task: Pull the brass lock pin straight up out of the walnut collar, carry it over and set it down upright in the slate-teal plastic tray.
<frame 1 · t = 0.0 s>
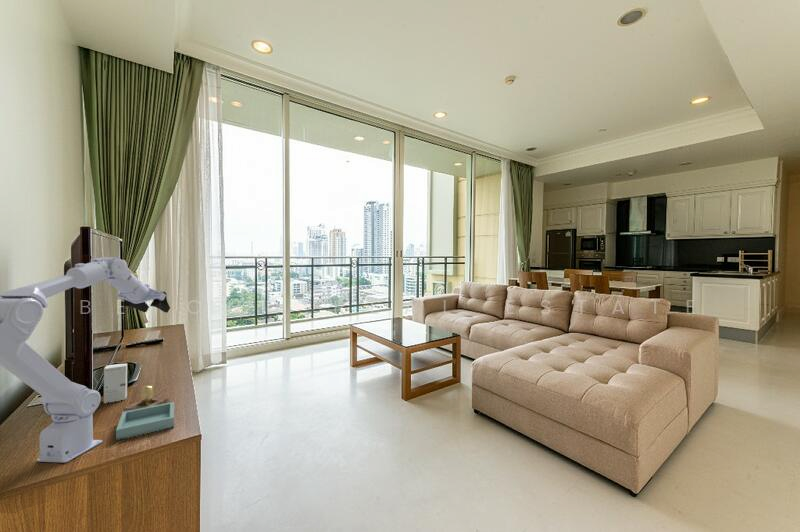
hand: (157, 309, 114), 32 cm above the tv stand, tool tilted 50°, fingers open, 7 cm apart
collar: (147, 407, 112), on the tv stand
tray: (147, 424, 100), on the tv stand
skincare box: (116, 400, 118), on the tv stand
lock pin: (146, 397, 112), in the collar
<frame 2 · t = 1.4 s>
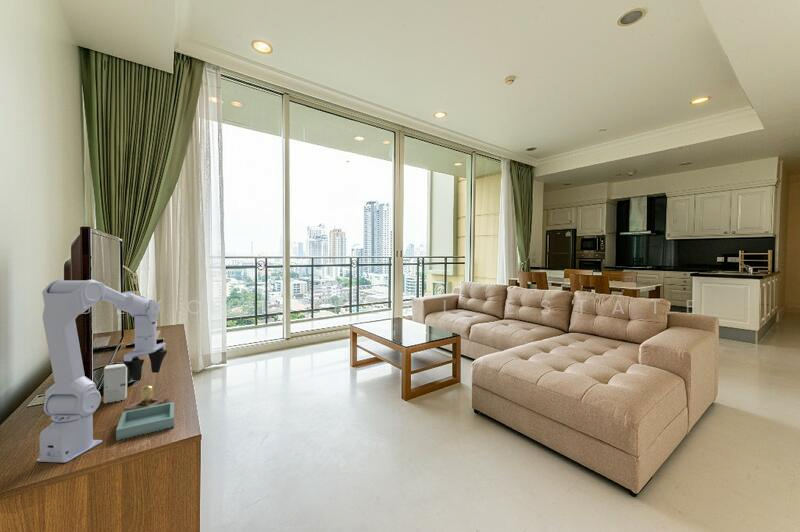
hand: (146, 376, 112), 10 cm above the tv stand, tool pointing down, fingers open, 7 cm apart
nothing on the tv stand moved.
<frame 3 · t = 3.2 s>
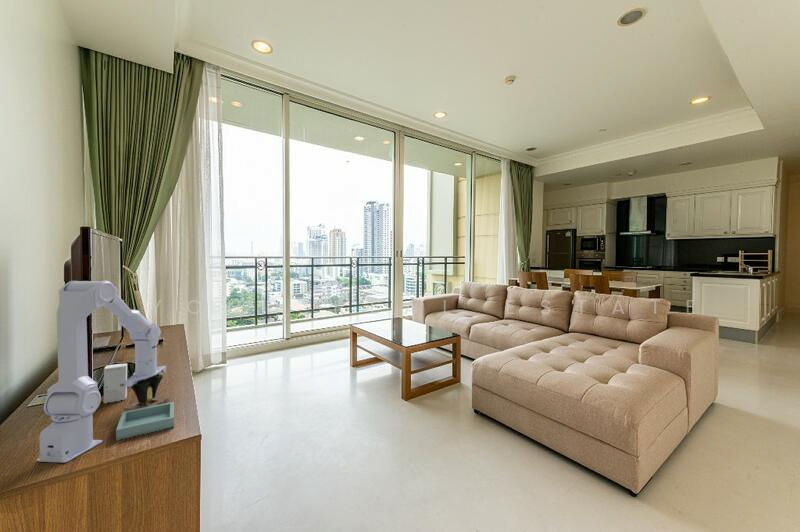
hand: (146, 400, 112), 2 cm above the tv stand, tool pointing down, fingers closed on lock pin, 3 cm apart
lock pin: (146, 396, 112), in the collar, touching gripper
everything else where it was.
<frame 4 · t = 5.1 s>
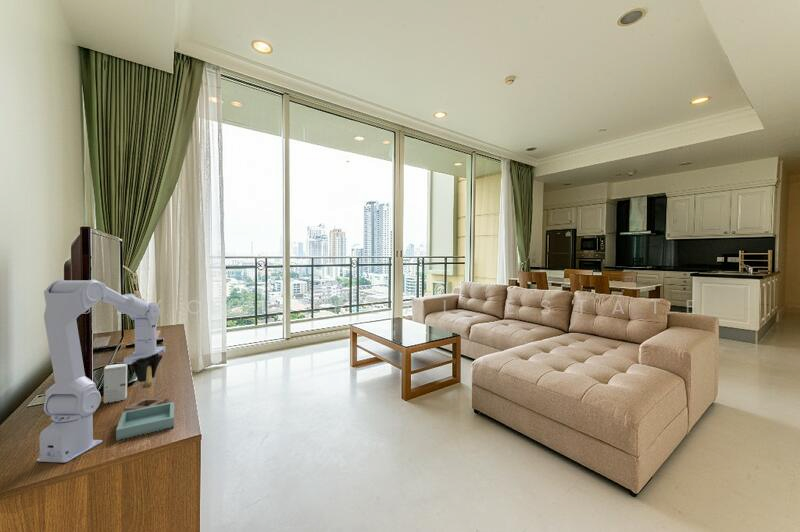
hand: (146, 379, 112), 9 cm above the tv stand, tool pointing down, fingers closed on lock pin, 3 cm apart
lock pin: (146, 376, 112), point 10 cm above the tv stand, touching gripper
everything else where it was.
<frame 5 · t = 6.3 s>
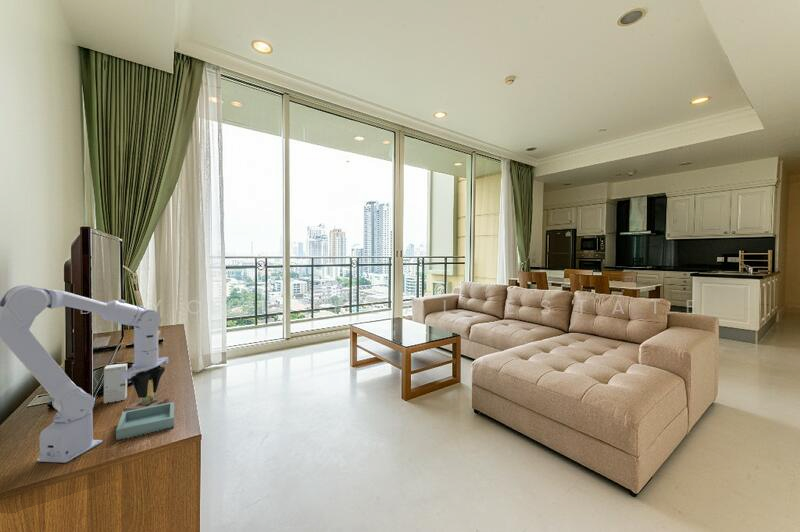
hand: (147, 394, 100), 9 cm above the tv stand, tool pointing down, fingers closed on lock pin, 3 cm apart
lock pin: (147, 391, 100), point 10 cm above the tv stand, touching gripper
everything else where it was.
when the fingers open (4 cm above the tv stand, at t = 7.4 s): lock pin drops 1 cm, resting on tray.
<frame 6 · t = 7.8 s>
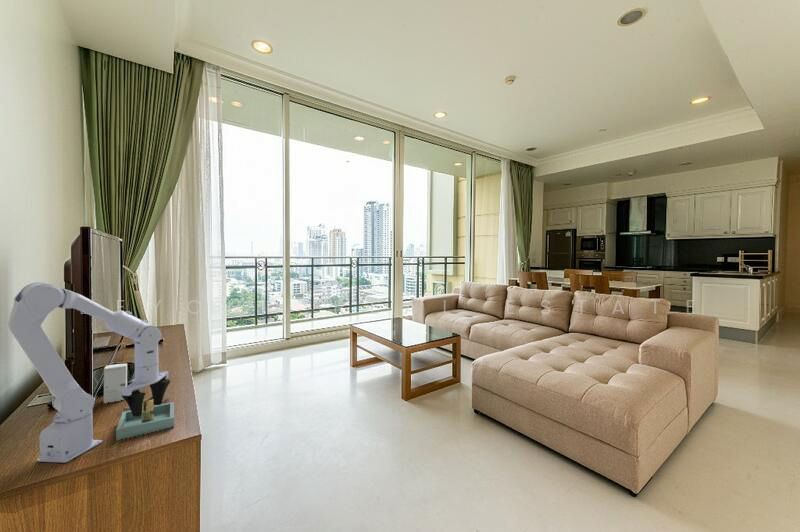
hand: (147, 410, 100), 4 cm above the tv stand, tool pointing down, fingers open, 7 cm apart
lock pin: (147, 410, 100), in the tray, point 4 cm above the tv stand
everything else where it was.
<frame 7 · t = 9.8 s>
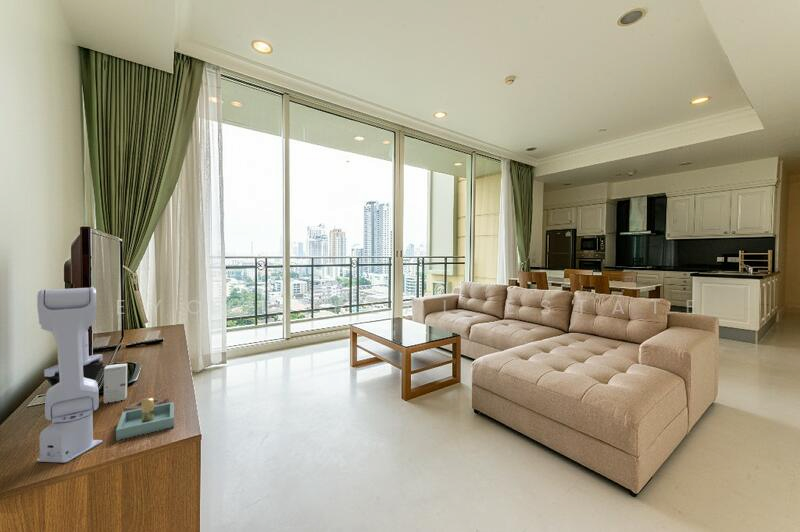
hand: (76, 392, 98), 10 cm above the tv stand, tool pointing down, fingers open, 7 cm apart
nothing on the tv stand moved.
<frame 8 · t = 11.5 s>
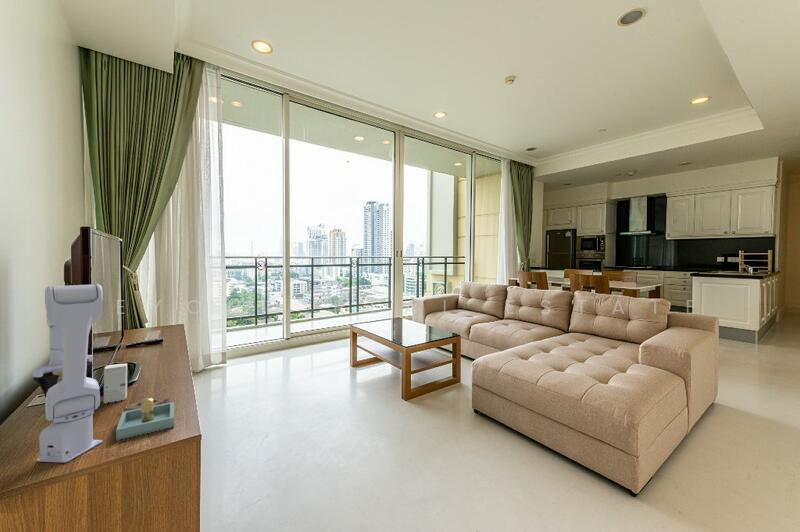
hand: (65, 393, 98), 10 cm above the tv stand, tool pointing down, fingers open, 7 cm apart
nothing on the tv stand moved.
at the end: lock pin inside the target area on the tray (0.0 cm from its centre), point 4.1 cm above the tray's base; the gripper is holding nothing; lock pin tilted 1° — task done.
